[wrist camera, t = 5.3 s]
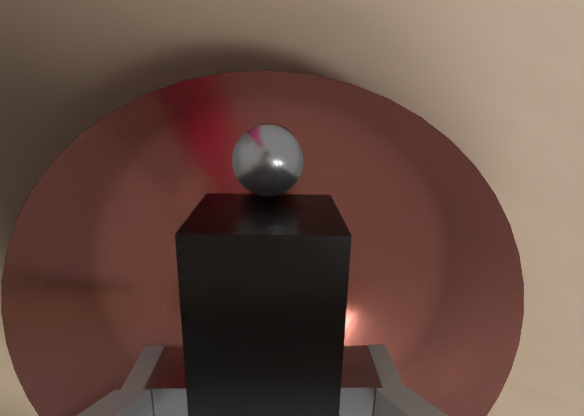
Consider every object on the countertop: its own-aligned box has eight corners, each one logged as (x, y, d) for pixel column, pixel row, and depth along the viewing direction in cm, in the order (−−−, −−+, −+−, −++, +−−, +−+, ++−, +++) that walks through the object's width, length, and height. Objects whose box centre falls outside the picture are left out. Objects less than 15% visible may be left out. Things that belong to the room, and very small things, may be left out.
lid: (-19, 66, 10) (-233, 44, 6) (545, 79, 10) (718, 68, 6) (68, 494, 14) (-18, 654, 10) (462, 488, 14) (532, 640, 10)
